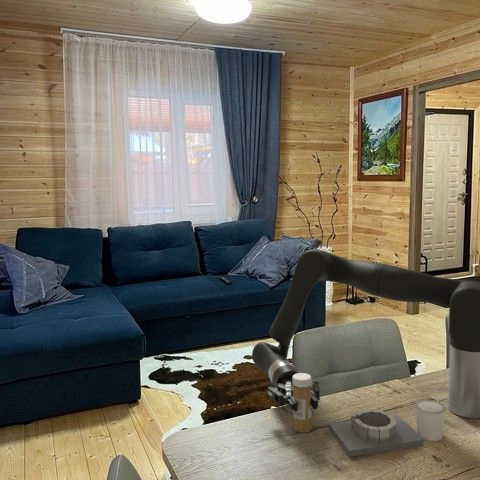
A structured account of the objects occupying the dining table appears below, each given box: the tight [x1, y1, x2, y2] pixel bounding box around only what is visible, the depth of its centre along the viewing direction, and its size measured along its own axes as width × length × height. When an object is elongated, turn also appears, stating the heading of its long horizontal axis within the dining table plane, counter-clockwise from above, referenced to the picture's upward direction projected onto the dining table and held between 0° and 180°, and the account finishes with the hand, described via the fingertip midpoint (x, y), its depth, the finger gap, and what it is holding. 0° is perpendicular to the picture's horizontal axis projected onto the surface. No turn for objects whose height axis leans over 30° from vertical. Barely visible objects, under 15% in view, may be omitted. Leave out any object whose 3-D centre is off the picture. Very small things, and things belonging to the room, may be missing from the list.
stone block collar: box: [350, 408, 396, 442], centre depth 113 cm, size 9×10×3 cm
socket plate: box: [328, 413, 425, 458], centre depth 113 cm, size 18×12×2 cm, turn 101°
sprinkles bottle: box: [292, 372, 313, 434], centre depth 117 cm, size 5×5×13 cm
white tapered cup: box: [414, 399, 447, 442], centre depth 113 cm, size 7×7×7 cm
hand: (306, 406), depth 114 cm, fingers closed on sprinkles bottle, 4 cm apart
